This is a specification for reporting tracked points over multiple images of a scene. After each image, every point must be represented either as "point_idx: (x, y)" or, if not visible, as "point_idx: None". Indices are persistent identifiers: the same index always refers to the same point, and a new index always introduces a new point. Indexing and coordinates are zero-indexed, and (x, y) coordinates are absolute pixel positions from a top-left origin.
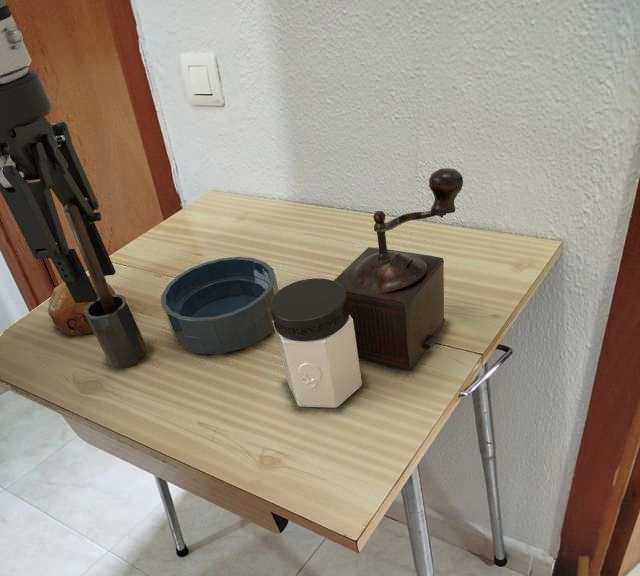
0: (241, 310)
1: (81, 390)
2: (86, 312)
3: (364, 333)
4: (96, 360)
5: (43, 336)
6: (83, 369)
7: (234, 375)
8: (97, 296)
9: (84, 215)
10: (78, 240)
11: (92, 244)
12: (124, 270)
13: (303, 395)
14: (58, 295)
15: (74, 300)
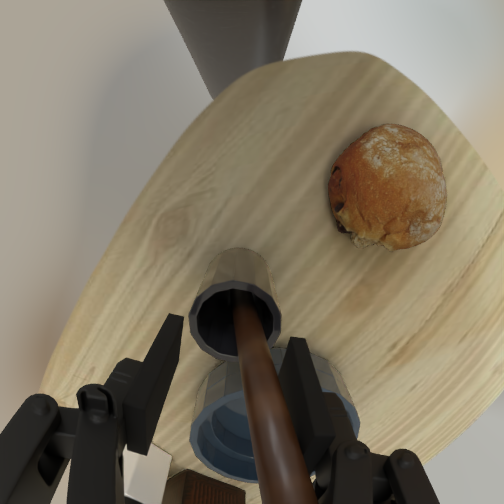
0: (203, 462)
1: (166, 213)
2: (220, 288)
3: (167, 498)
4: (243, 223)
5: (350, 108)
6: (223, 204)
7: (164, 404)
8: (177, 363)
9: (325, 487)
10: (253, 437)
11: (292, 422)
12: (482, 231)
13: None
14: (392, 161)
15: (167, 317)
